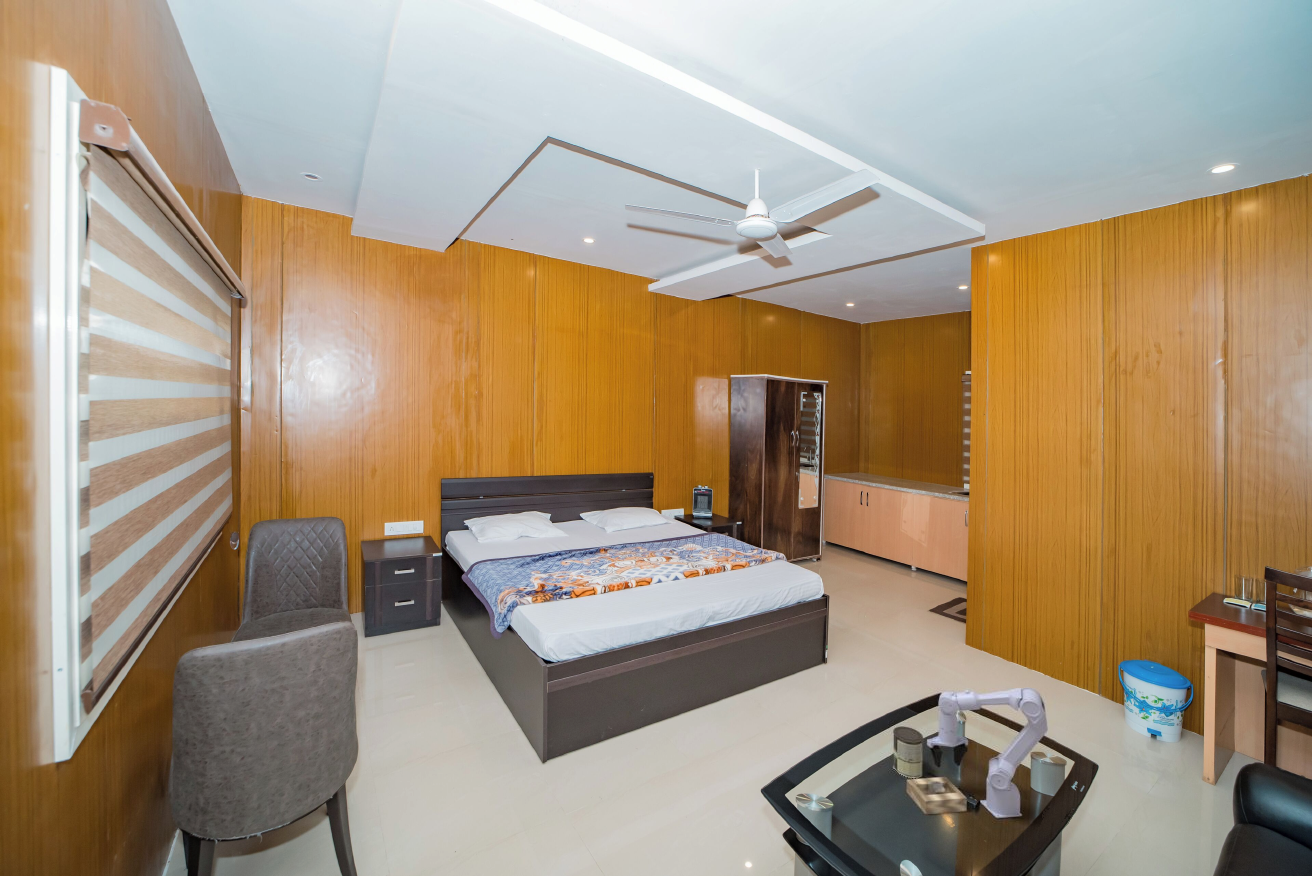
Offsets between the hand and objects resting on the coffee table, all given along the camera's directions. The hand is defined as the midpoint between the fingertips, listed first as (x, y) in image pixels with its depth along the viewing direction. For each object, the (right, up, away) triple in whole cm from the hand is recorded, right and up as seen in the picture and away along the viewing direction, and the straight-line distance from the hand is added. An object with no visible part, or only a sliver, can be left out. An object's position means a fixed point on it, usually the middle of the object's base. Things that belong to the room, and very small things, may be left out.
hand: (947, 764), depth 190 cm
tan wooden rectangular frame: (-6, -10, -5) cm, 13 cm away
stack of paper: (-7, -10, -5) cm, 13 cm away
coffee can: (-8, -10, +12) cm, 18 cm away
